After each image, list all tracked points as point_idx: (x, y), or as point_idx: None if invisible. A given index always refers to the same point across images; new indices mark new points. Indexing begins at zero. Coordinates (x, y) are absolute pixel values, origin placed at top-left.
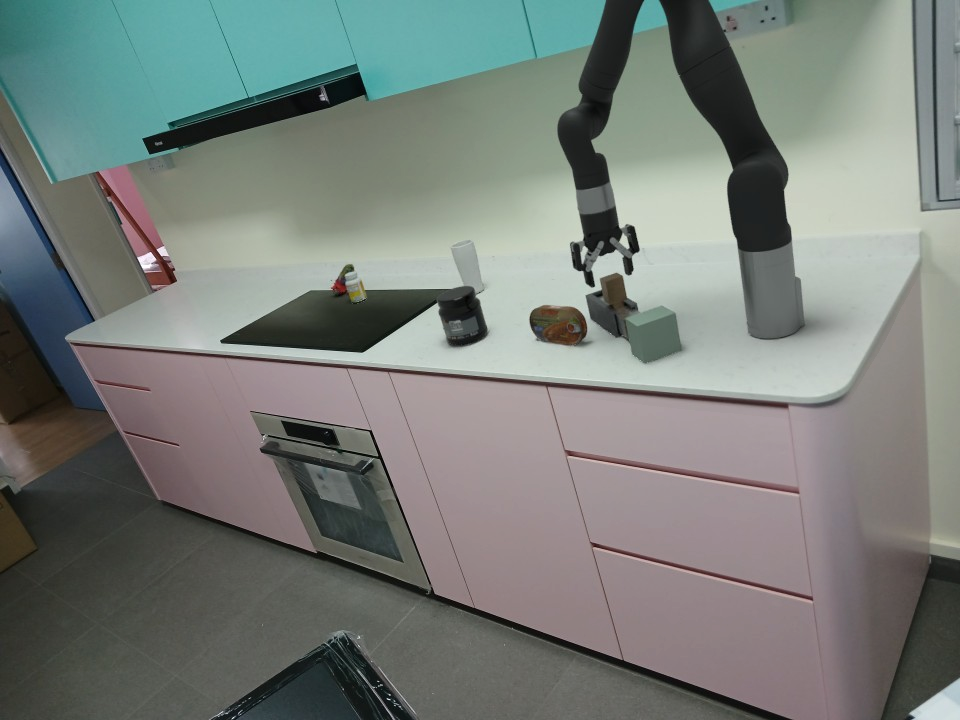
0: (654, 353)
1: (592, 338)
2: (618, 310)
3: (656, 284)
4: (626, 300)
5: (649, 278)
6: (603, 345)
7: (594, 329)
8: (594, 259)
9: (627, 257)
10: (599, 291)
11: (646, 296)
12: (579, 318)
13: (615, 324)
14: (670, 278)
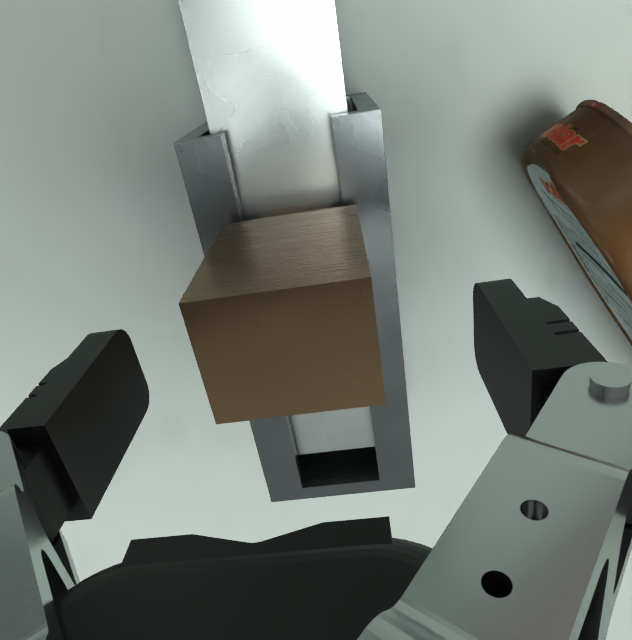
0: None
1: (471, 178)
2: (309, 176)
3: (69, 531)
4: None
5: None
6: (458, 35)
7: (422, 280)
8: (541, 459)
9: (18, 452)
10: (334, 484)
11: (124, 457)
12: (612, 148)
13: (359, 101)
14: None
